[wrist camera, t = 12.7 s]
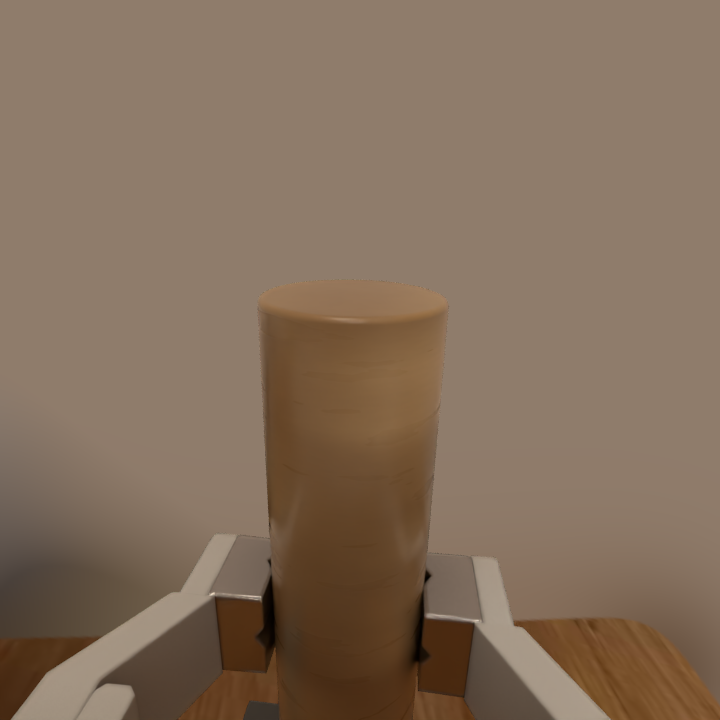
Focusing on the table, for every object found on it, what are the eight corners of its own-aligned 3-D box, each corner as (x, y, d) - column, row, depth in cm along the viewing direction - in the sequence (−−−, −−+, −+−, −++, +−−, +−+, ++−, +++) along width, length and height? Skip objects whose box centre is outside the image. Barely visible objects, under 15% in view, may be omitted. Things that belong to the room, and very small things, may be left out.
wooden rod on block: (455, 797, 13) (530, 280, 8) (471, 1028, 10) (621, 346, 5) (254, 767, 14) (213, 267, 9) (196, 976, 10) (71, 317, 5)
